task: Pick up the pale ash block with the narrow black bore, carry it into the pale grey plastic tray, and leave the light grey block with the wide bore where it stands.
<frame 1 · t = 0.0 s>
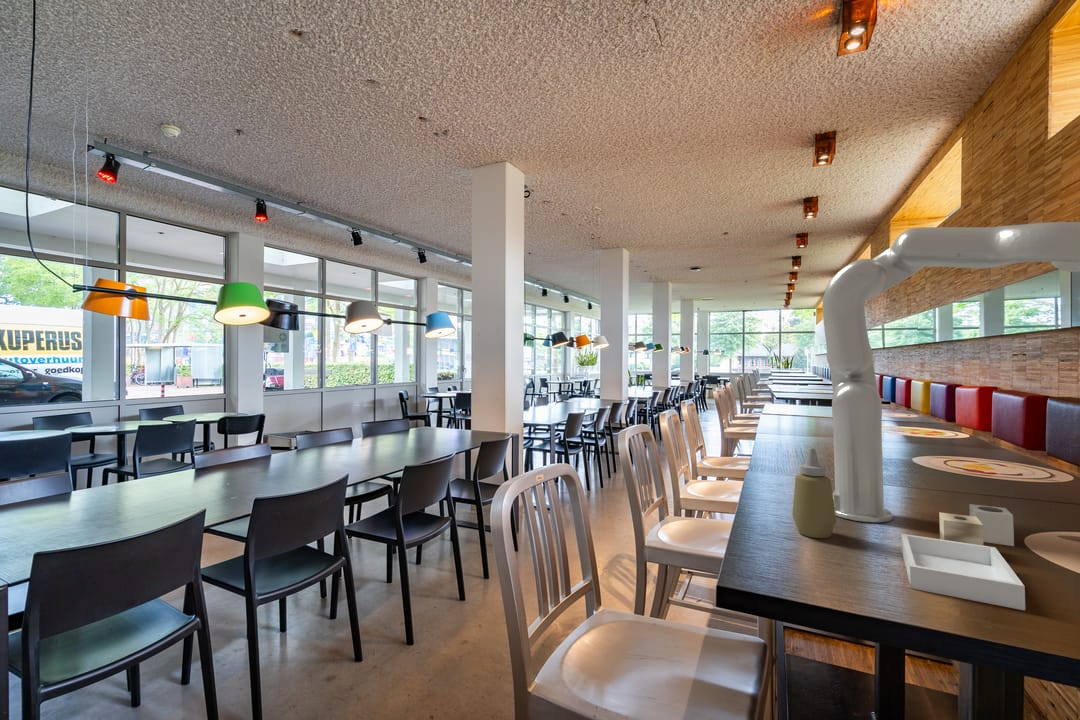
squeeze bottle: (814, 535, 99), on the table
tray: (955, 577, 78), on the table
ash block: (961, 549, 90), on the table
grey block: (991, 539, 95), on the table
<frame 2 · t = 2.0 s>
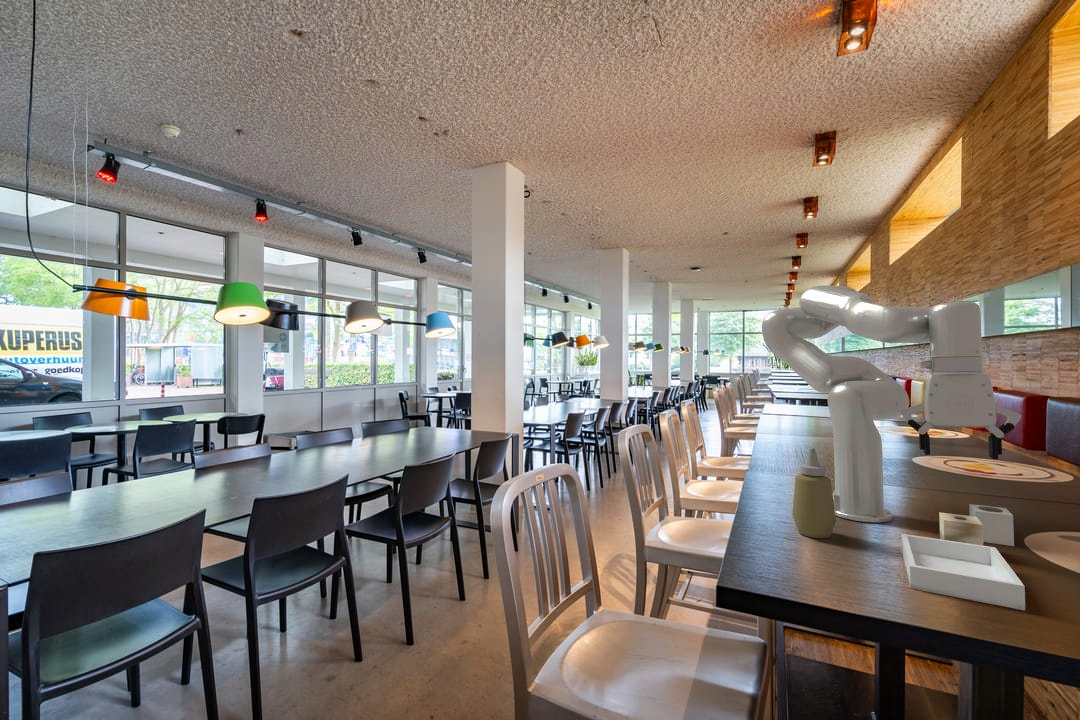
hand: (959, 456, 90), 18 cm above the table, fingers open, 9 cm apart
nothing on the table moved.
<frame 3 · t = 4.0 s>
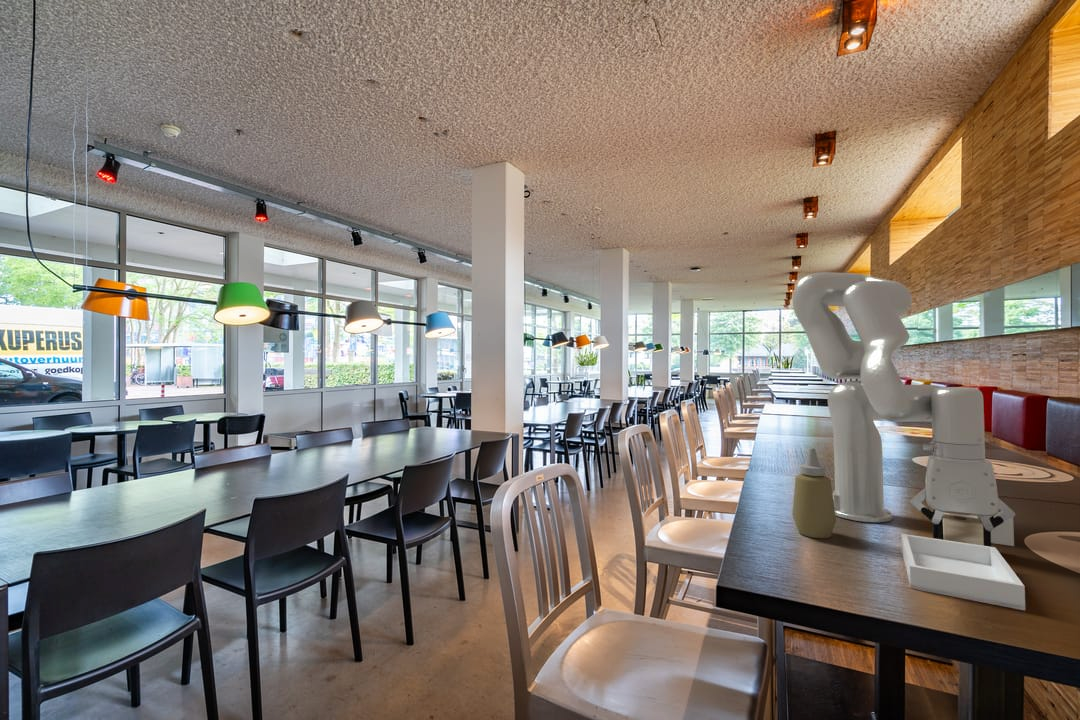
hand: (961, 545, 90), 1 cm above the table, fingers closed on ash block, 5 cm apart
ash block: (961, 549, 90), on the table, touching gripper
everything else where it was.
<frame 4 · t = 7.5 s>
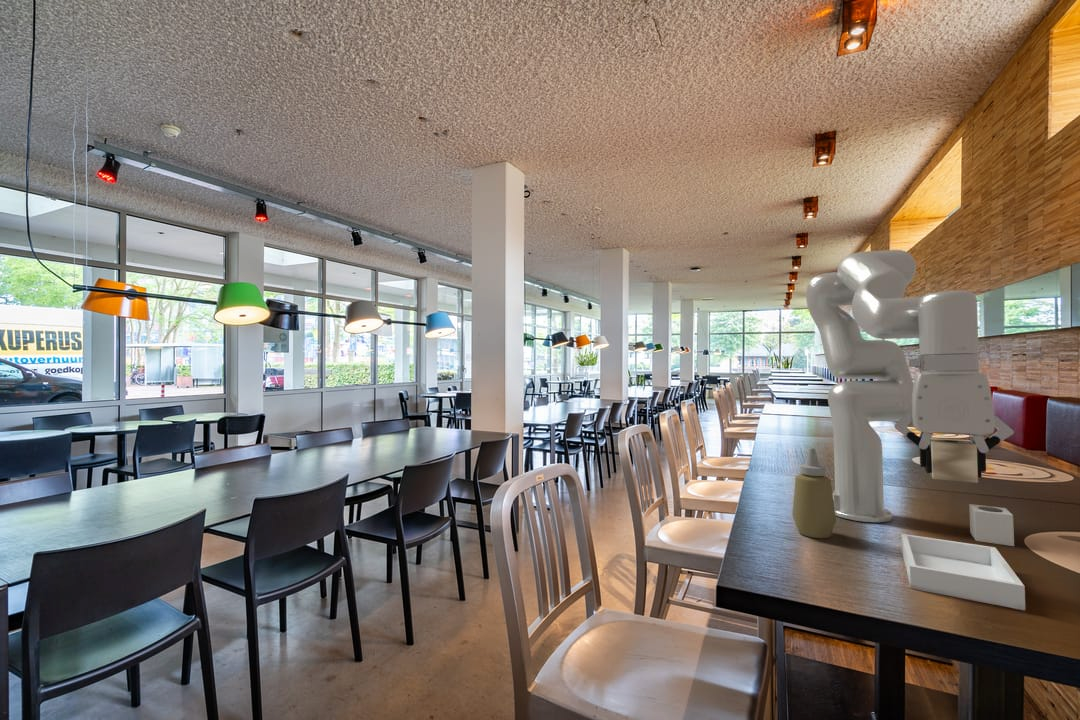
hand: (952, 472, 78), 17 cm above the table, fingers closed on ash block, 5 cm apart
ash block: (952, 477, 78), point 17 cm above the table, touching gripper
everything else where it was.
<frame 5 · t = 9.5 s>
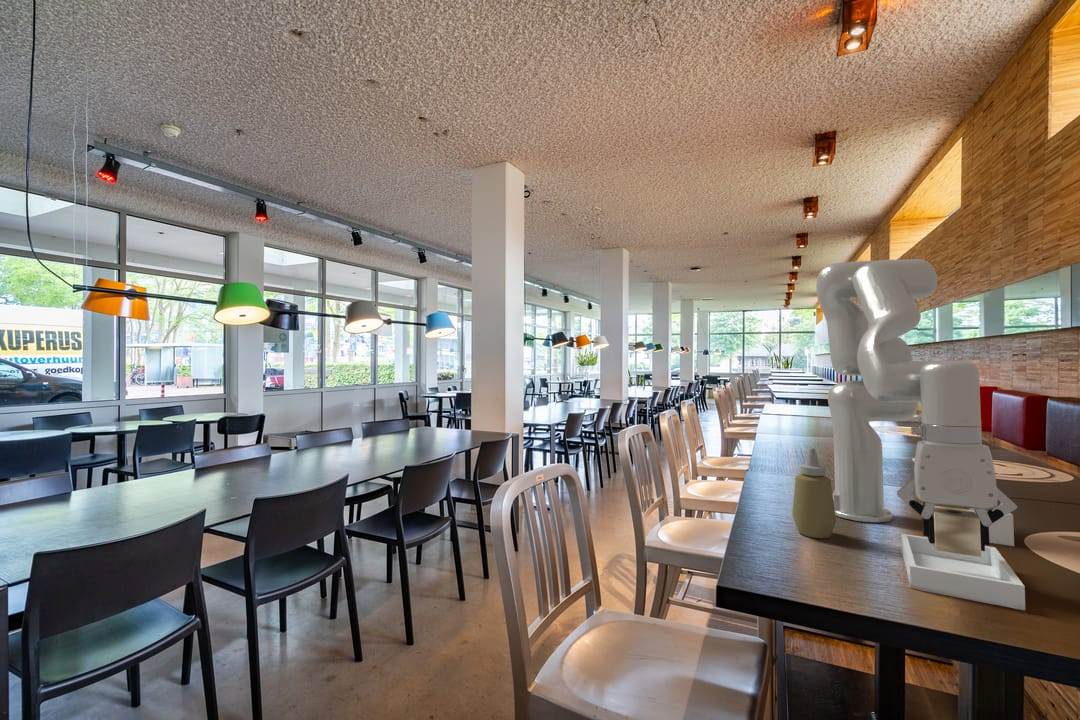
hand: (955, 543, 78), 6 cm above the table, fingers closed on ash block, 5 cm apart
ash block: (955, 548, 78), point 5 cm above the table, touching gripper
everything else where it was.
when the fingers open (3 cm above the table, at t = 11.0 s): ash block drops 2 cm, resting on tray.
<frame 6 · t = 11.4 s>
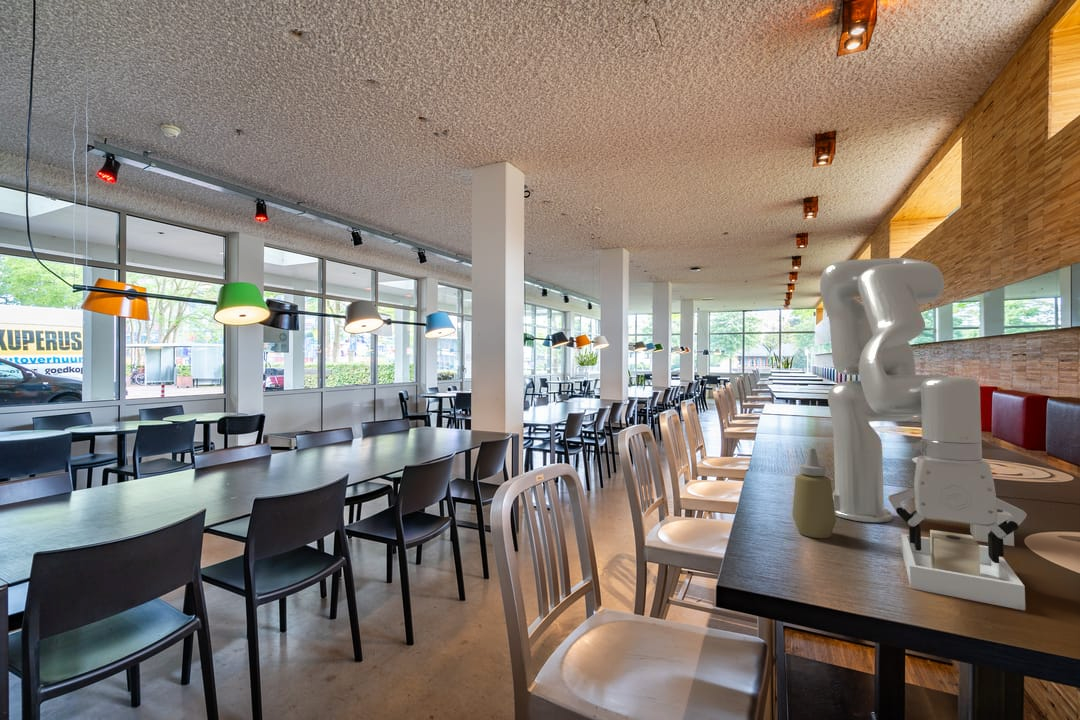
hand: (954, 553, 78), 4 cm above the table, fingers open, 9 cm apart
ash block: (954, 573, 78), point 1 cm above the table, touching tray
everything else where it was.
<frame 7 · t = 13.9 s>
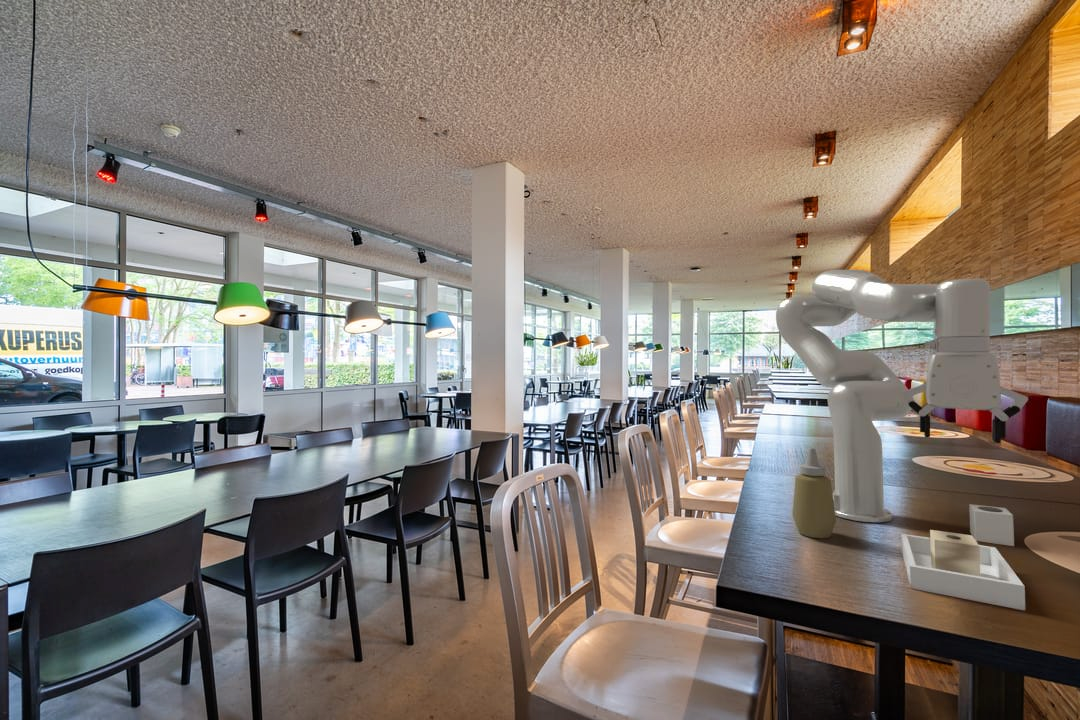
hand: (960, 439, 87), 22 cm above the table, fingers open, 9 cm apart
nothing on the table moved.
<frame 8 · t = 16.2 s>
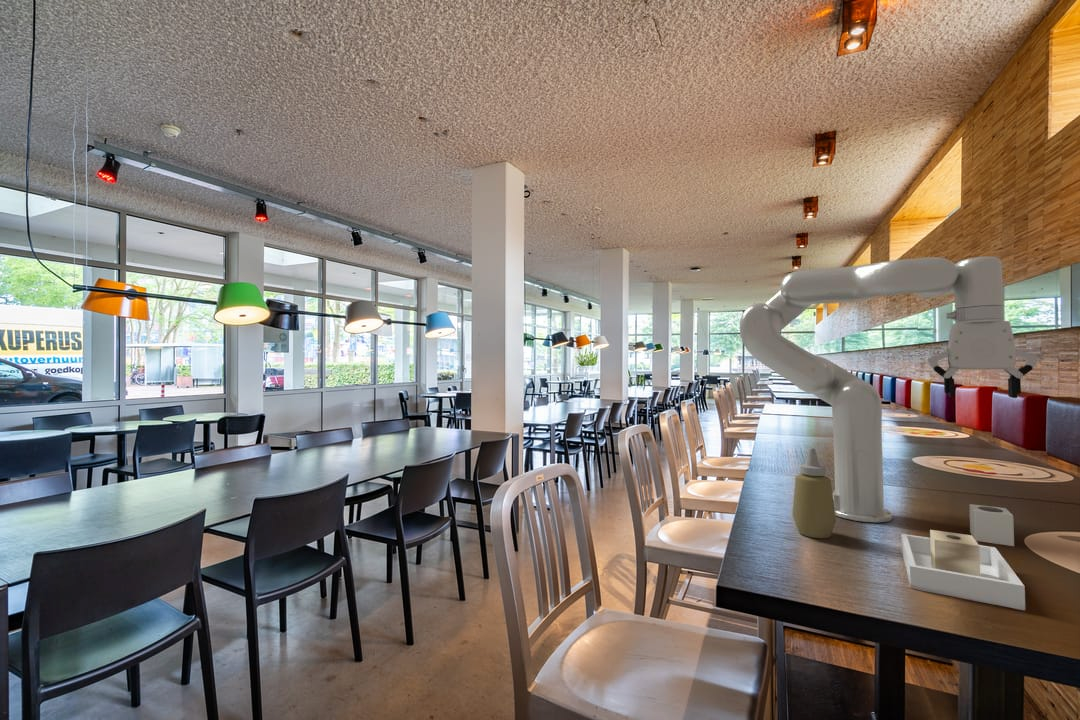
hand: (981, 397, 99), 28 cm above the table, fingers open, 9 cm apart
nothing on the table moved.
at the end: ash block inside the target area on the tray (0.0 cm from its centre), point 0.6 cm above the tray's base; ash block tilted 0°; grey block moved 0.1 cm from its start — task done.
